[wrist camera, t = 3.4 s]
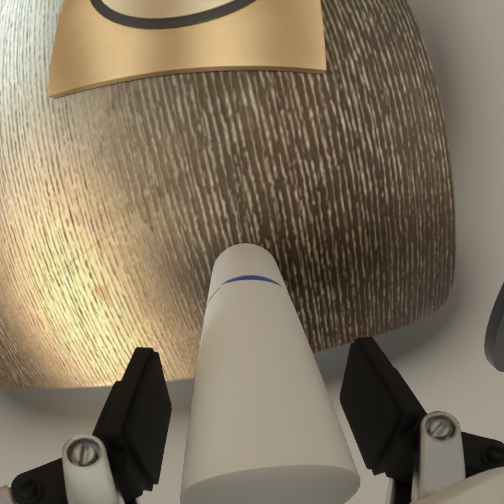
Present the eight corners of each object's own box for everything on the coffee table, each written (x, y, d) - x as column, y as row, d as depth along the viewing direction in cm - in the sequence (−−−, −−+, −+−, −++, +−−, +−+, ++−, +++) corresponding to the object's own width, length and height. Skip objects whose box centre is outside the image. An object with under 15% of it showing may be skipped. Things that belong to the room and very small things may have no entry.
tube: (242, 315, 20) (260, 534, 6) (198, 273, 19) (144, 497, 5) (291, 276, 19) (385, 485, 5) (248, 229, 18) (293, 439, 4)
